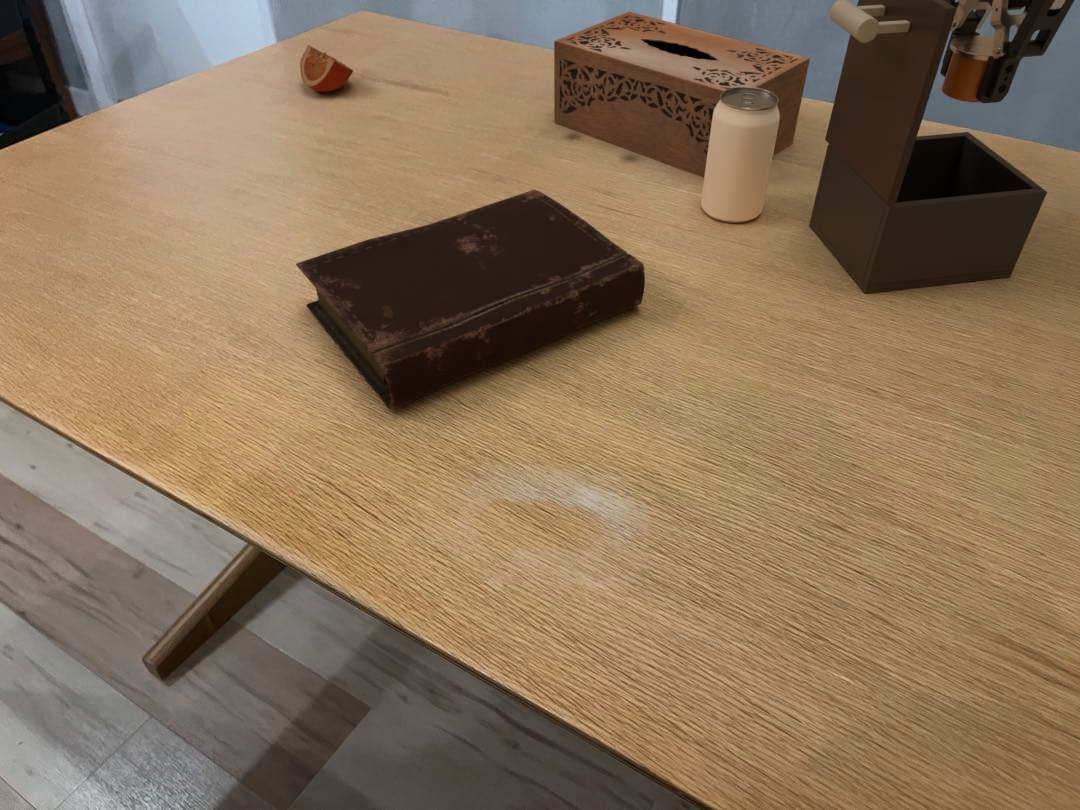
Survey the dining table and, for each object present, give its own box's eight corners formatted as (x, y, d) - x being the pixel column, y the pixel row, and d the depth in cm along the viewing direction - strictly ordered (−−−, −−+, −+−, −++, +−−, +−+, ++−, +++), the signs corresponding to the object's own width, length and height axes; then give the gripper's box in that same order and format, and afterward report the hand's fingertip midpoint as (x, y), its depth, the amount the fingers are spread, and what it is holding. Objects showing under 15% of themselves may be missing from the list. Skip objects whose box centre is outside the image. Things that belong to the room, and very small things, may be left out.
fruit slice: (294, 84, 115) (286, 48, 112) (338, 74, 118) (332, 37, 115) (320, 103, 110) (312, 65, 107) (365, 91, 113) (359, 54, 109)
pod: (979, 79, 74) (995, 33, 71) (1012, 102, 70) (1031, 54, 68) (925, 83, 74) (939, 37, 71) (956, 106, 70) (972, 58, 67)
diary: (645, 311, 74) (649, 263, 70) (394, 419, 64) (385, 369, 60) (530, 225, 85) (529, 180, 82) (303, 305, 75) (291, 258, 72)
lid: (876, -39, 68) (817, -36, 68) (957, 8, 59) (890, 12, 58) (832, 139, 79) (780, 143, 78) (896, 202, 69) (838, 207, 69)
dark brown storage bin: (940, 212, 86) (968, 131, 80) (1010, 277, 77) (1048, 191, 71) (808, 225, 85) (827, 144, 79) (864, 293, 75) (890, 207, 70)
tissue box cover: (554, 122, 104) (554, 40, 98) (624, 89, 112) (629, 11, 106) (726, 185, 91) (740, 96, 85) (792, 142, 99) (809, 58, 92)
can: (697, 221, 86) (712, 107, 78) (703, 192, 90) (717, 82, 82) (760, 227, 84) (782, 113, 76) (763, 198, 89) (784, 87, 81)
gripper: (1164, -127, 55) (1060, 118, 67) (1035, -160, 66) (964, 56, 77) (1063, -122, 55) (975, 125, 66) (949, -157, 65) (890, 62, 77)
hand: (970, 87), depth 72 cm, fingers closed on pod, 5 cm apart
